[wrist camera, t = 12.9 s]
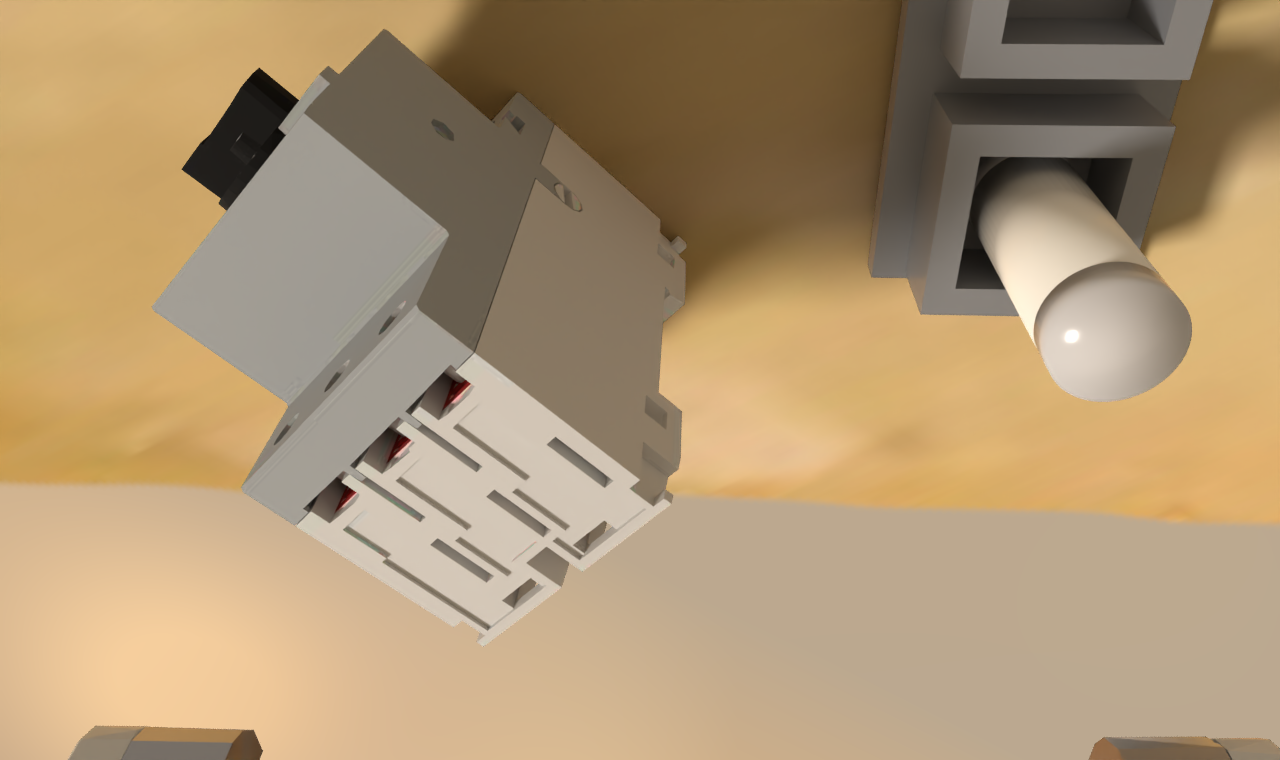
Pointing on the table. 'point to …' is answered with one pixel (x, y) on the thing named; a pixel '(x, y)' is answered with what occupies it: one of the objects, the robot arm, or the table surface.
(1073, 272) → the cylinder
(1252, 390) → the table surface
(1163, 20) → the block
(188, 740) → the robot arm
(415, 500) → the circuit breaker
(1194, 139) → the table surface
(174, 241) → the table surface
